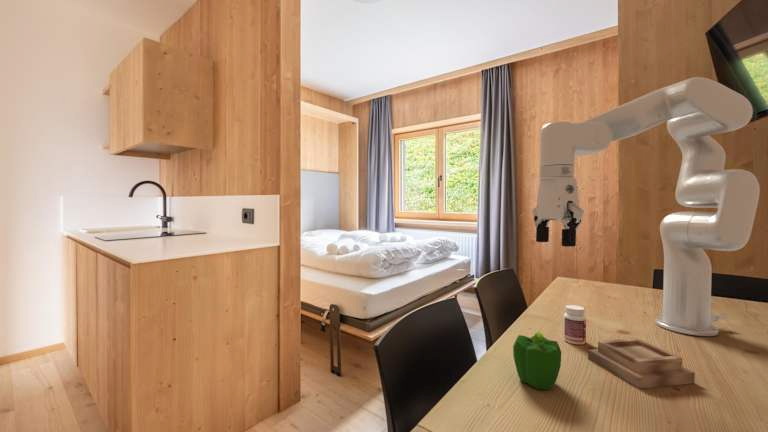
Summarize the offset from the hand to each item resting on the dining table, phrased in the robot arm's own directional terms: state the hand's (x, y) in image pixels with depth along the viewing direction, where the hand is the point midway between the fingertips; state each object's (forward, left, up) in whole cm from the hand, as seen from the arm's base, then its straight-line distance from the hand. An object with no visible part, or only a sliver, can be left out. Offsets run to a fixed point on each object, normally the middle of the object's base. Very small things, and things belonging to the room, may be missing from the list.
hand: (554, 243), depth 81 cm
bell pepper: (+16, +17, -24) cm, 34 cm away
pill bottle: (-5, +1, -24) cm, 25 cm away
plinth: (-7, +16, -24) cm, 30 cm away
